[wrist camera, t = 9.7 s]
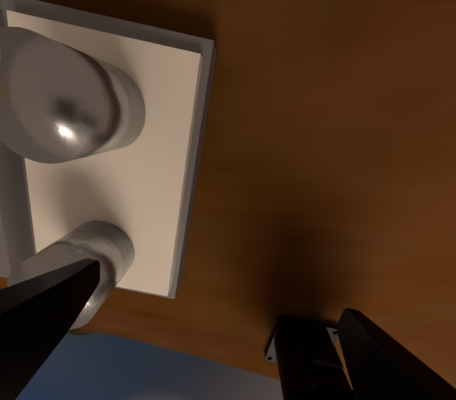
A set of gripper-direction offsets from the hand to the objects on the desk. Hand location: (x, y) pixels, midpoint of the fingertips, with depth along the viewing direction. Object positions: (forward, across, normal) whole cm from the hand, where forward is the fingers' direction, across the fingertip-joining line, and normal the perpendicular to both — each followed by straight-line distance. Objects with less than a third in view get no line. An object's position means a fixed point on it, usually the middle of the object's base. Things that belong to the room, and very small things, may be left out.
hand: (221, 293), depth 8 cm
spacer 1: (+8, +9, -5) cm, 13 cm away
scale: (+11, +11, 0) cm, 16 cm away
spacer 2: (+8, +9, +5) cm, 13 cm away
